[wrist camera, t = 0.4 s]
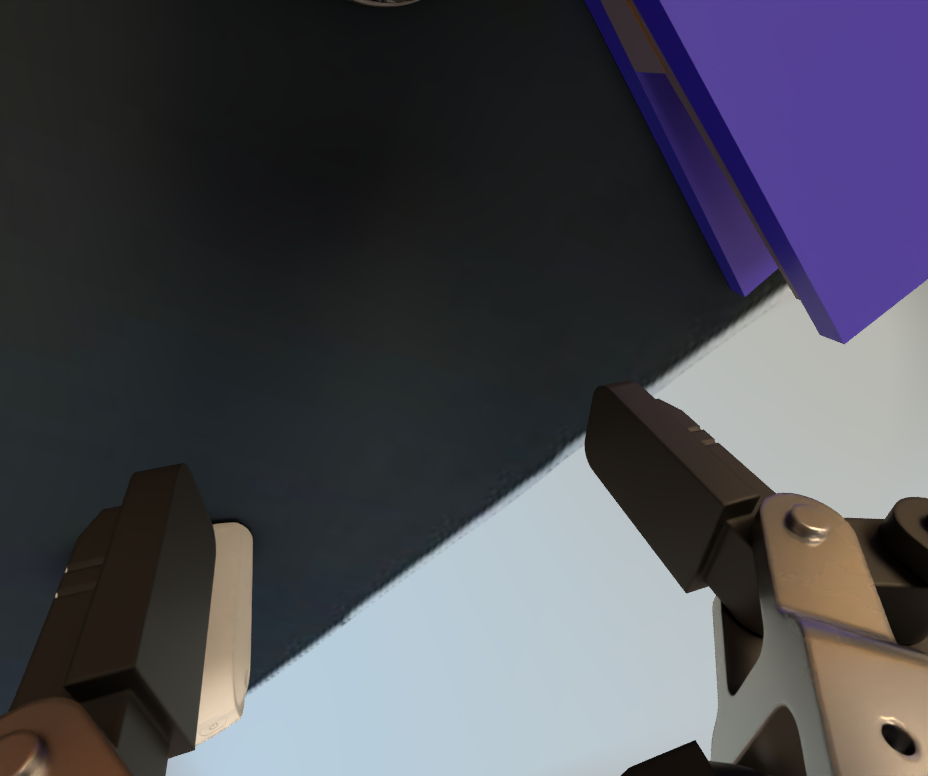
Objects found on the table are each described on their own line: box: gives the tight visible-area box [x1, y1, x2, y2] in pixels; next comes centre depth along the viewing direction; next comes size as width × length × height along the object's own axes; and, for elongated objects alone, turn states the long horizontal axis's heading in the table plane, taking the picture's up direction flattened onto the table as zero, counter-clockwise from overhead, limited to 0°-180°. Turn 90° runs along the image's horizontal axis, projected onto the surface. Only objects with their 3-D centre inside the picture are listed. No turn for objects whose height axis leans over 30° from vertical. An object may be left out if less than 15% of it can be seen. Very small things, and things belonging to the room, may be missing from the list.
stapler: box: [585, 0, 928, 344], centre depth 22 cm, size 12×28×10 cm, turn 42°
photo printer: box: [55, 522, 253, 759], centre depth 27 cm, size 10×4×12 cm, turn 86°
